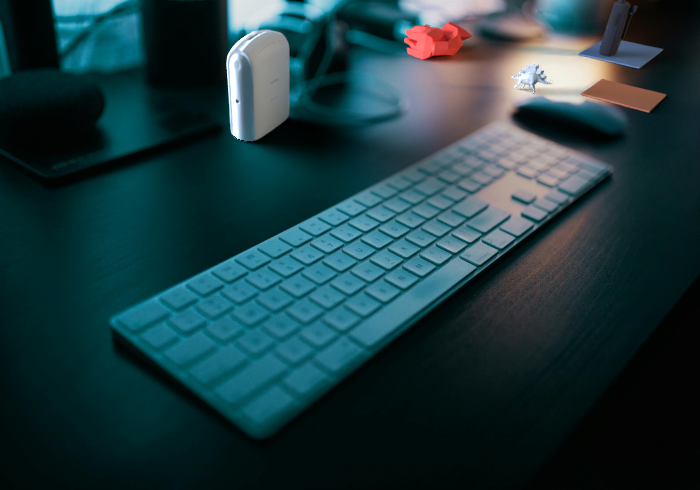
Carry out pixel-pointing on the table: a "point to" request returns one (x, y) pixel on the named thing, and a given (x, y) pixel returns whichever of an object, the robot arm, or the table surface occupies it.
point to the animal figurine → (435, 40)
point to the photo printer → (258, 84)
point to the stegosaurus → (531, 76)
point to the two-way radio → (616, 27)
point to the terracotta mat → (624, 95)
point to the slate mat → (625, 54)
